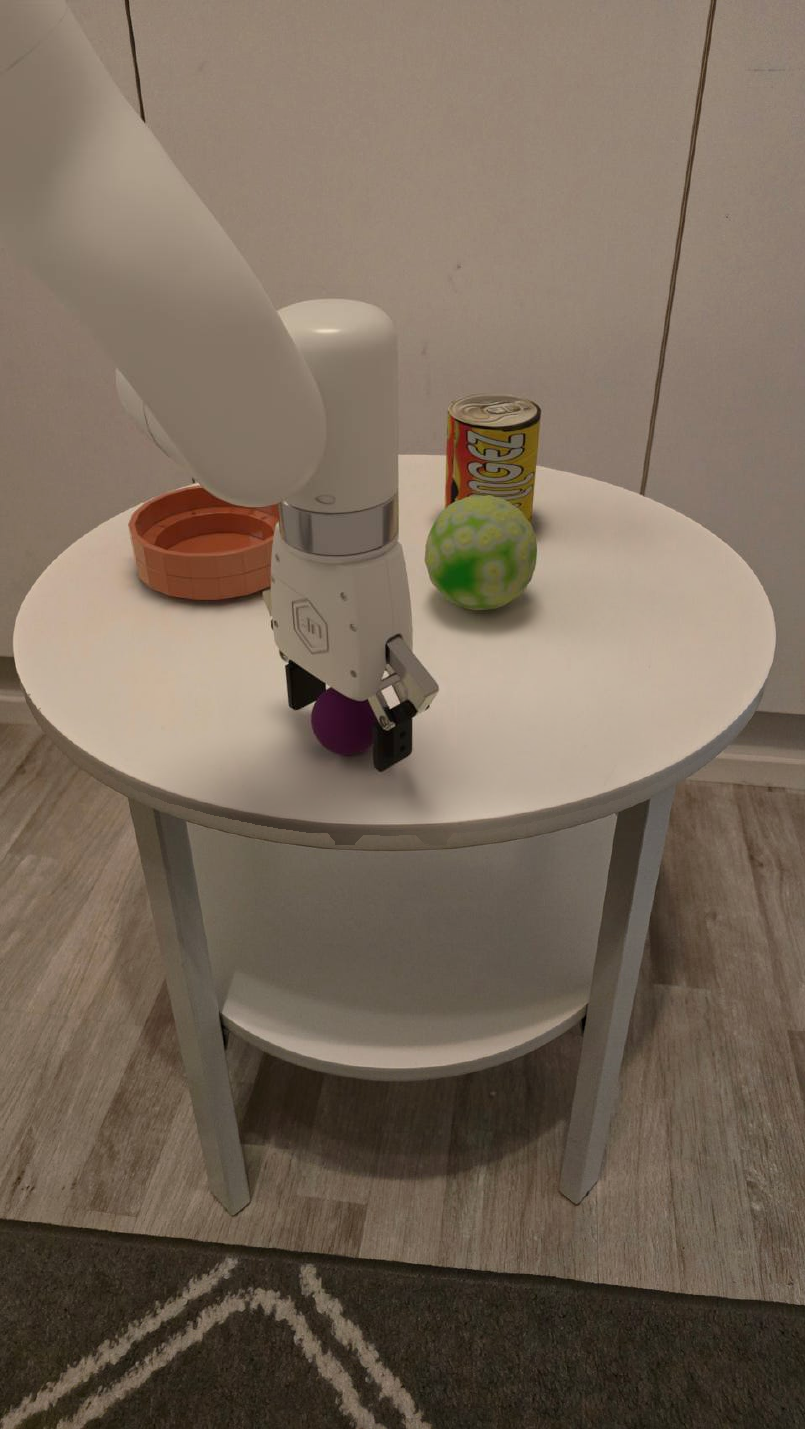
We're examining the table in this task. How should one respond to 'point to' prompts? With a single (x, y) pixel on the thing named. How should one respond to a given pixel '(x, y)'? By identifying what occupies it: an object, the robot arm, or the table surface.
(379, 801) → the table surface
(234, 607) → the table surface
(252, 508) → the bowl
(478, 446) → the beverage can
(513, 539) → the decorative ball
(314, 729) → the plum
